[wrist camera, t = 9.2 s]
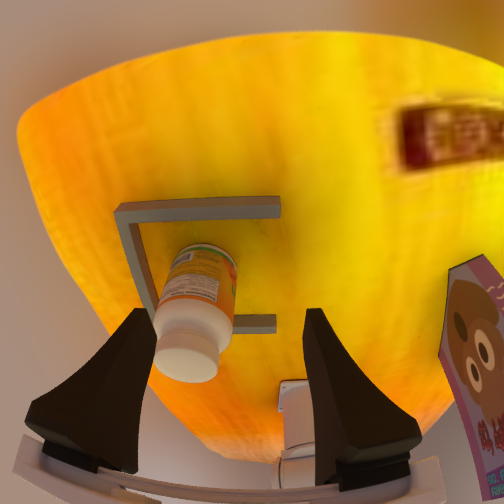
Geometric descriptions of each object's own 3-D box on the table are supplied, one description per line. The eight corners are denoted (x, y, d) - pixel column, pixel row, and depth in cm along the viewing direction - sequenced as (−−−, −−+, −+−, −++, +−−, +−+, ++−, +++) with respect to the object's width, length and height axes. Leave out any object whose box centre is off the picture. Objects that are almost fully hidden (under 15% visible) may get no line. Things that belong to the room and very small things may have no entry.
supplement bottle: (230, 298, 26) (221, 394, 18) (171, 285, 25) (143, 378, 17) (244, 249, 23) (238, 352, 15) (177, 235, 22) (140, 331, 14)
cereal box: (448, 269, 24) (547, 486, 4) (482, 253, 23) (589, 448, 3) (437, 356, 33) (482, 502, 13) (464, 343, 32) (514, 483, 12)
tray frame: (275, 321, 28) (276, 333, 26) (156, 320, 28) (153, 331, 27) (279, 195, 20) (280, 205, 19) (121, 203, 21) (113, 212, 19)
